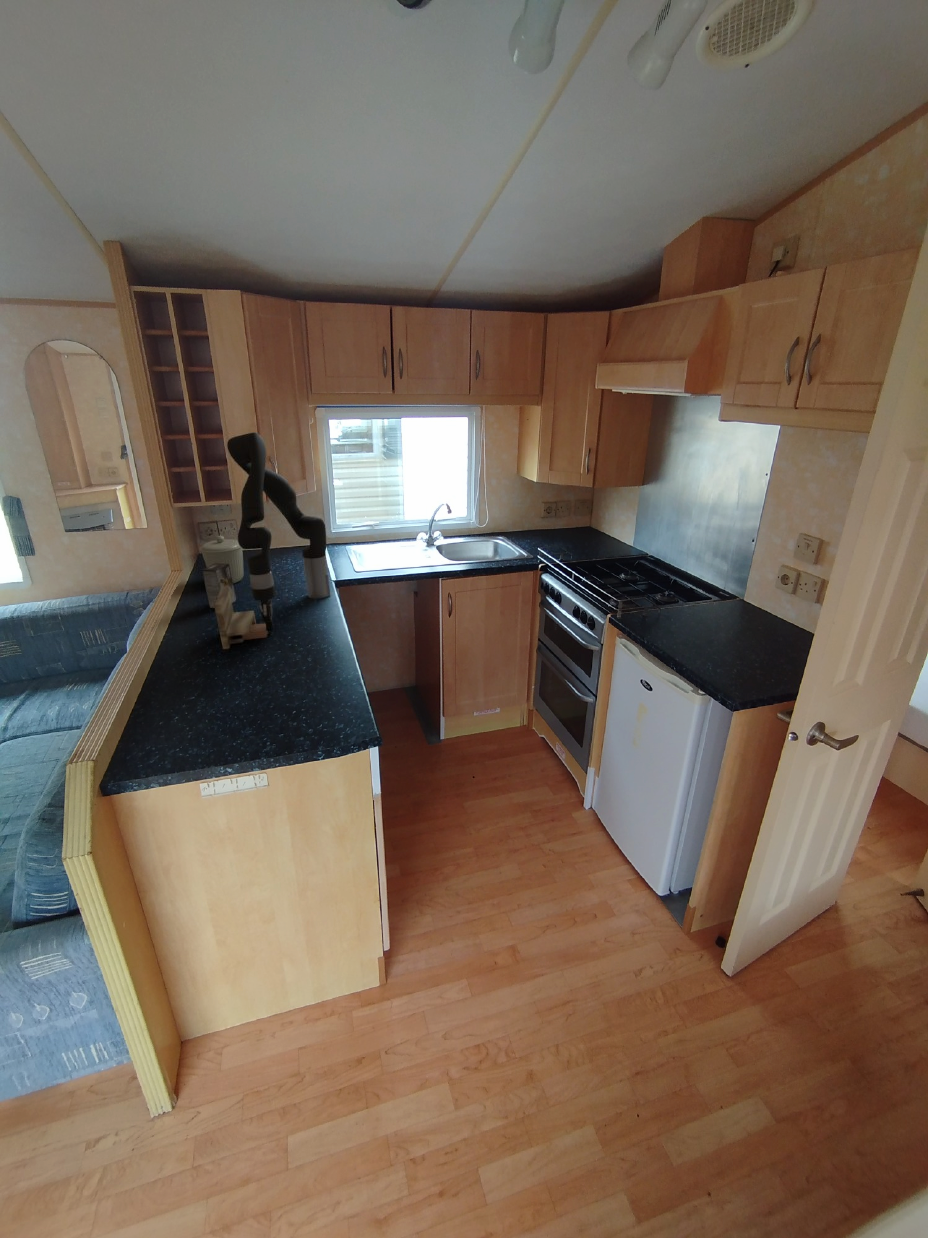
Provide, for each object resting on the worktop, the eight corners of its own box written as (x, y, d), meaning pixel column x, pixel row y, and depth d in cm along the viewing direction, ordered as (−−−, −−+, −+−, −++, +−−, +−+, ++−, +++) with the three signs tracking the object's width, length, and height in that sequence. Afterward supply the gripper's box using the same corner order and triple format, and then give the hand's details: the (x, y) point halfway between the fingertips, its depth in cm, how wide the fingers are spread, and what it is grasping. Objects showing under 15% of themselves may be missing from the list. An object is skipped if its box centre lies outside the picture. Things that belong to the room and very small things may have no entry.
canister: (256, 580, 253) (249, 535, 245) (217, 590, 241) (208, 543, 233) (237, 572, 264) (229, 528, 256) (199, 581, 252) (190, 536, 244)
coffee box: (222, 599, 231) (215, 562, 225) (236, 600, 230) (229, 563, 224) (209, 607, 223) (201, 569, 216) (223, 608, 222) (216, 570, 215)
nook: (256, 624, 207) (249, 583, 200) (251, 645, 190) (243, 602, 183) (230, 627, 205) (222, 586, 199) (223, 649, 188) (214, 605, 182)
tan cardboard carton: (268, 629, 202) (267, 623, 201) (266, 637, 196) (265, 630, 195) (244, 631, 201) (243, 625, 200) (242, 639, 194) (241, 633, 193)
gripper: (272, 589, 187) (280, 636, 194) (274, 577, 199) (281, 622, 206) (249, 592, 185) (257, 639, 192) (252, 579, 197) (260, 624, 204)
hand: (270, 630), depth 199 cm, fingers closed
